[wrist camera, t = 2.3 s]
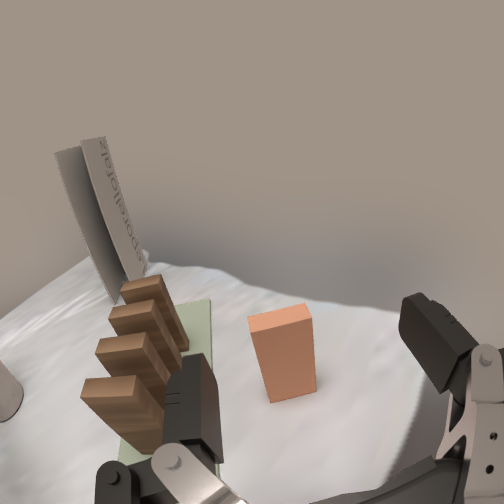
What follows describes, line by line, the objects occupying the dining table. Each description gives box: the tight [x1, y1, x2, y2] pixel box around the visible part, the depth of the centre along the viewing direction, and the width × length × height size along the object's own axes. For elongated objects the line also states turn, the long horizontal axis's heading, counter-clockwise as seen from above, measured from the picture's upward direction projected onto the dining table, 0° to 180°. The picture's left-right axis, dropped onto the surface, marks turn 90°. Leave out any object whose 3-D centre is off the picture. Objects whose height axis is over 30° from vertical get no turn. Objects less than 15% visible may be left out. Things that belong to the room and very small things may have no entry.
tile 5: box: [120, 274, 190, 353], centre depth 33 cm, size 2×5×11 cm, turn 98°
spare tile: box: [248, 303, 316, 403], centre depth 25 cm, size 2×5×11 cm, turn 98°
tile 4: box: [108, 299, 183, 374], centre depth 29 cm, size 2×5×11 cm, turn 97°
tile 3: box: [95, 332, 171, 410], centre depth 25 cm, size 2×5×11 cm, turn 97°
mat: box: [118, 298, 220, 504], centre depth 29 cm, size 36×11×1 cm, turn 8°
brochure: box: [54, 136, 147, 305], centre depth 48 cm, size 14×6×30 cm, turn 13°
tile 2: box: [80, 375, 164, 455], centre depth 20 cm, size 2×5×11 cm, turn 97°
